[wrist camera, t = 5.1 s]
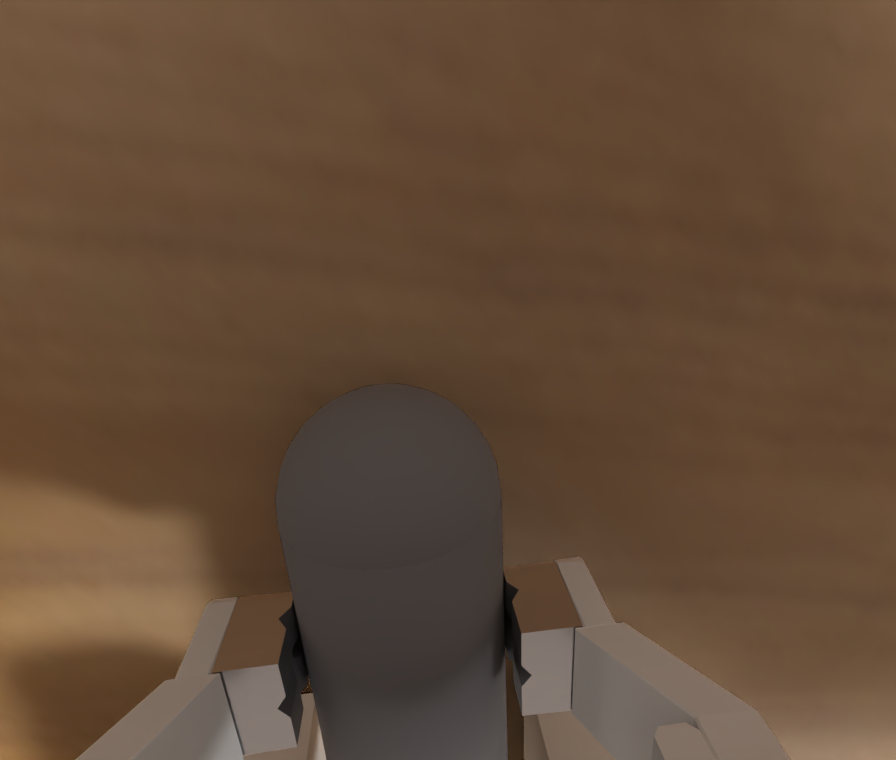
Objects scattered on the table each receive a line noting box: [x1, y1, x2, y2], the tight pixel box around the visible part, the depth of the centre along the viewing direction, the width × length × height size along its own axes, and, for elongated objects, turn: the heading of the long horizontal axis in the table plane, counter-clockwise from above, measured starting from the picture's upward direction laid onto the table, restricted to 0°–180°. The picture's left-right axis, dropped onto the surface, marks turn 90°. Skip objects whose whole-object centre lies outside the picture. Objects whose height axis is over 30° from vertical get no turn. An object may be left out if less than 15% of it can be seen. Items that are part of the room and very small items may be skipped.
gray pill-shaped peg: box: [275, 384, 508, 760], centre depth 10 cm, size 4×12×4 cm, turn 3°
